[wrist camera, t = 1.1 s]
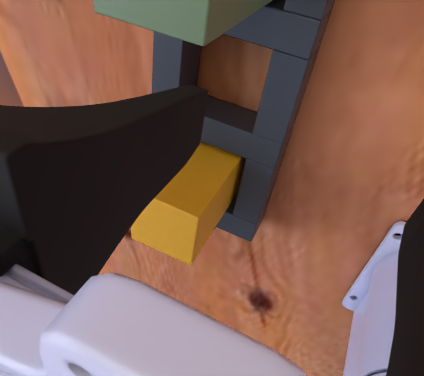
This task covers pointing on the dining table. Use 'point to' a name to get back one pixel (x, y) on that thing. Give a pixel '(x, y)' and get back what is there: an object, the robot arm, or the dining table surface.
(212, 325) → the robot arm
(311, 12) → the peg stand
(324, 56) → the dining table surface
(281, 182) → the dining table surface
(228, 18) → the green peg
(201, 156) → the mustard peg
